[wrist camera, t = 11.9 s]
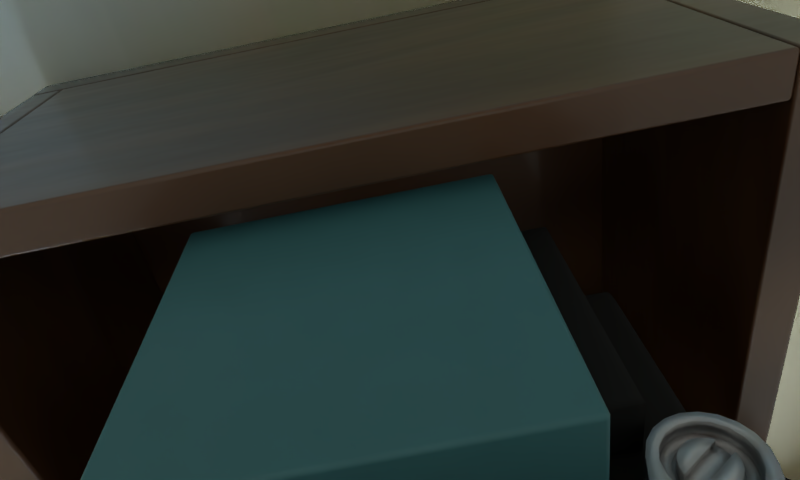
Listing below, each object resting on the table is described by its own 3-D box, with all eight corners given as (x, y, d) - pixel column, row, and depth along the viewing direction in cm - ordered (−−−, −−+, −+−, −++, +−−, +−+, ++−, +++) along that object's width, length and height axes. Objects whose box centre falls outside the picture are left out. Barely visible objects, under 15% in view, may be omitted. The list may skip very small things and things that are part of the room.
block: (189, 231, 9) (60, 516, 5) (492, 171, 9) (612, 416, 5) (278, 433, 12) (240, 730, 8) (516, 389, 12) (608, 669, 8)
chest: (45, 86, 16) (-206, 251, 9) (621, -34, 15) (860, 35, 8) (205, 397, 22) (137, 641, 15) (615, 319, 21) (746, 532, 14)
